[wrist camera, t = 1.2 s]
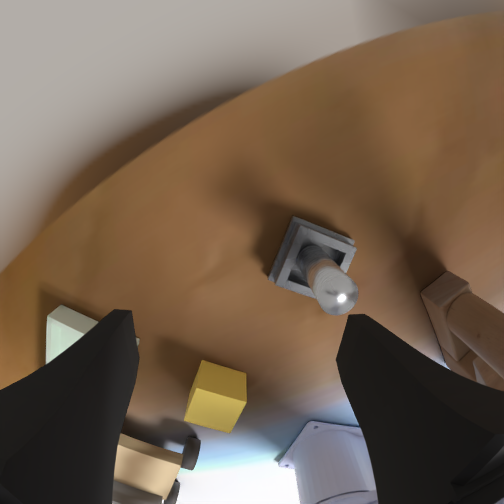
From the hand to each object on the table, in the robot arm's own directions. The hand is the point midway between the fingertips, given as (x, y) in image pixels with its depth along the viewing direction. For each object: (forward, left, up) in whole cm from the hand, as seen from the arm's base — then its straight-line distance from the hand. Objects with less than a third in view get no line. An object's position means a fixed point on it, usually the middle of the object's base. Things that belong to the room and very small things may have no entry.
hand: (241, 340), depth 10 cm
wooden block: (-21, 0, -14) cm, 25 cm away
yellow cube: (-2, +12, -14) cm, 19 cm away
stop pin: (-5, -1, -13) cm, 14 cm away
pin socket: (-5, -1, -14) cm, 14 cm away
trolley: (+2, +26, -14) cm, 30 cm away
